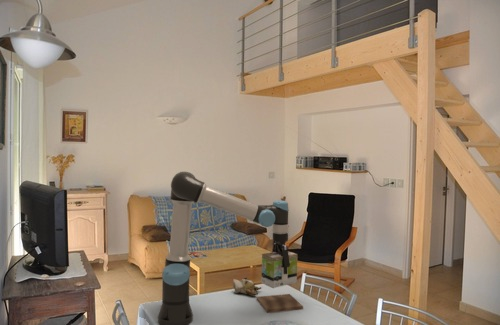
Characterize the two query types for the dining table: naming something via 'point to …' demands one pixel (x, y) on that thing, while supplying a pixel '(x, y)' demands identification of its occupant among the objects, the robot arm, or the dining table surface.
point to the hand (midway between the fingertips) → (280, 276)
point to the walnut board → (279, 303)
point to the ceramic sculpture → (245, 286)
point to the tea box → (278, 269)
